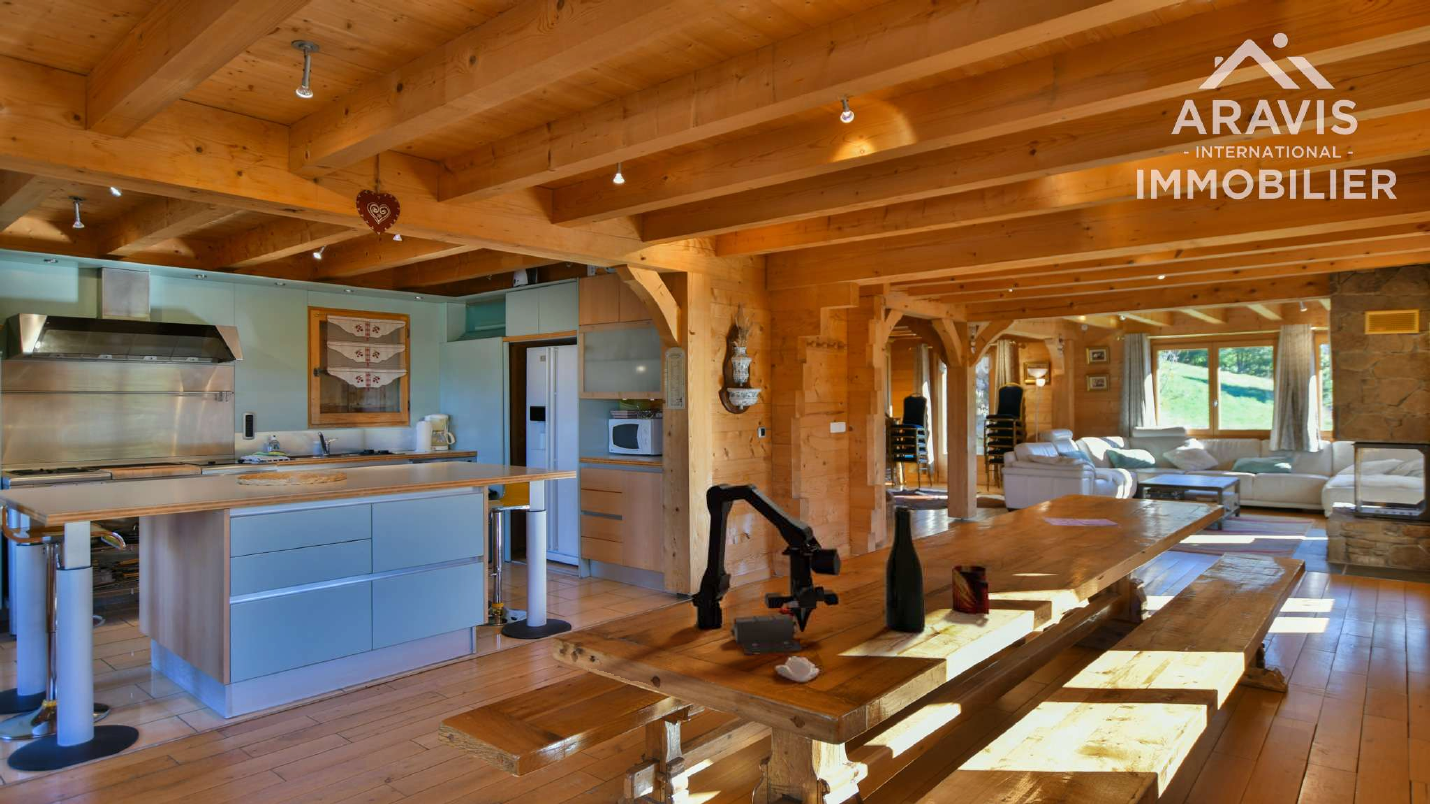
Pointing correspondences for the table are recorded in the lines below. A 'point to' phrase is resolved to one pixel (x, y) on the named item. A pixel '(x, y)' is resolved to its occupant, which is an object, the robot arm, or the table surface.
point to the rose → (798, 669)
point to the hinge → (765, 634)
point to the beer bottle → (904, 579)
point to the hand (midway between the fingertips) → (802, 631)
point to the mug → (970, 589)
